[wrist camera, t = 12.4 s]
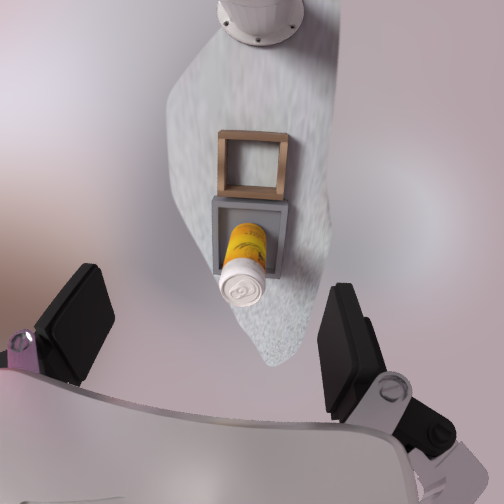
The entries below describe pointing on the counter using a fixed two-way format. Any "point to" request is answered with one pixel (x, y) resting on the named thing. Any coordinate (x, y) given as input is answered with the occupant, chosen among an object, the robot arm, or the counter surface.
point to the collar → (251, 191)
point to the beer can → (244, 266)
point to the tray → (249, 211)
